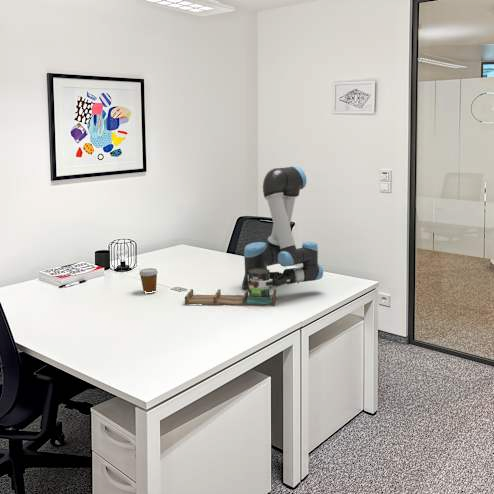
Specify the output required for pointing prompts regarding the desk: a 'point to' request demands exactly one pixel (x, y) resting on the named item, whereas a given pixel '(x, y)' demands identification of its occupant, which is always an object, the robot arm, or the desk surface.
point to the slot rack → (230, 299)
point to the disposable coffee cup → (149, 279)
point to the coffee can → (255, 278)
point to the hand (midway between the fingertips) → (253, 281)
